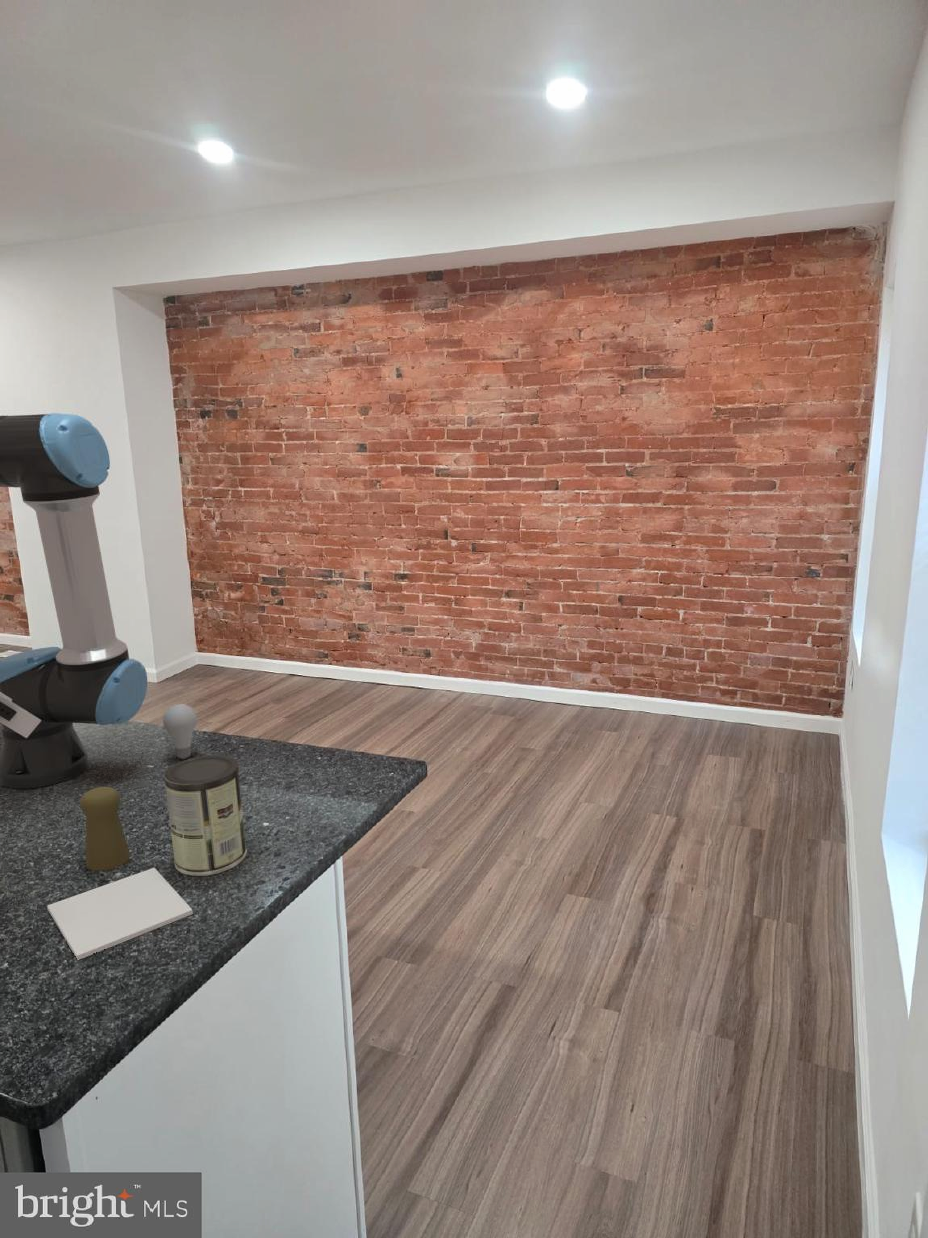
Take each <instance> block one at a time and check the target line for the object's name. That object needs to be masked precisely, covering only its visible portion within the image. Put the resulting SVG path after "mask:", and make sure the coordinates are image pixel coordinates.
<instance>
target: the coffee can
mask: <svg viewBox="0 0 928 1238" xmlns="http://www.w3.org/2000/svg"><path fill="white" fill-rule="evenodd" d="M239 767H240V766H239V762H238V761H237V760H236V759H235V758H233V757H231V756H227V755H226V756H225V755H219V754H218V755H217V754H216V755H215V754H212V755H201V756H194V757H191V758H187V759H183V760H181V761H178V762H176V763H174V764H172V765H170V766H169V767H167V768H166V770H165V771H164V772H163V775H162V777H163V779H162V780H163V781H164V784H165V792H166V793H165V794H166V800H167V801H166V803H167V810H168V811H167V812H168V818H169V825H170V826H169V827H170V835H171V841H172V848H173V851H172V852H173V858H174V859H173V860H174V868H175V869H176V870H177V871H178V872H179V873H181V874H182V875H187V876H192V877H207V876H213V875H218V874H221V873H224V872H227V871H229V870H232V869H233V868H236V866H238V865H239V864H240V863H242V862H243V861H244V860H245V858H246V857H247V852H248V850H247V847H246V846H247V845H246V837H245V828H244V815H243V806H242V796H241V787H240V785H241V784H240V776H239V771H240V769H239Z"/></svg>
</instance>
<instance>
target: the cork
mask: <svg viewBox="0 0 928 1238" xmlns="http://www.w3.org/2000/svg"><path fill="white" fill-rule="evenodd" d="M118 792H119V791H117V790H116V789H115V788H114V787H111V786H100V787H94V788H91V789H90V790H88V791H86V792H84V794H83V795H82V797H81V799H80V802H79V805H80V809H81V811H82V813H83V814H84V815H85V820H86V821H85V823H86V824H85V867H86V868H87V869H88V870H90V871H94V872H95V871H96V872H97V871H100V872H102V871H109V870H114V869H116V868H118V867H120V866H123V865H124V864H126V863H127V862H128V861H129V860H130V858H131V853H130V848H129V847H128V842H127V839H126V836H125V831H124V829H123V826H122V822H121V818H120V815H119V812H118V808H119V807H120V803H121V799H120V798H121V796H120V794H119V793H118Z"/></svg>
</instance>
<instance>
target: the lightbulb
mask: <svg viewBox="0 0 928 1238" xmlns="http://www.w3.org/2000/svg"><path fill="white" fill-rule="evenodd" d="M163 714H164V715H163V718H162V724H163V727H164V728H165V730H166V731H167V733H168V734H169V735H170V737H171V739H172V741H173V745H174V748H175V750H176V756H177V758H179V759H181V760H187V759H188V758H189V757H190V756H191V755H192V754H191V751H192V749H191V746H192V737H193V732H194V730H195V729H196V725H197V723H198V716H197V713H196V711H195V710H194V708H192V707H191V706H190V705H187V704H184V703H177V704H173V705H172V706H170V707H169V708H167V710H166V711H165V712H164V713H163Z"/></svg>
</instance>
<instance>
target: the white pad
mask: <svg viewBox="0 0 928 1238" xmlns="http://www.w3.org/2000/svg"><path fill="white" fill-rule="evenodd" d="M47 911H48V912H49V914H50V916H51V917H52V919H53V921H54V923H55V925H56V926H57V928H58V929H59V931H60V933H61V934H62V936H63V938H64V940H65V942H66V941H67V942H66V944H67V945H68V946H69V948H70V950H71V951H72V953H74V954H73V955H74V957H75V956H76V957H75V959H76V958H77V959H76V960H77V961H80V960H81V959H85V958H87V957H90V956H92V955H94V954H93V953H95V954H97V953H99V952H102V951H105V950H107V949H109V948H112V947H114V946H116V945H120V944H122V943H124V942H126V941H130V940H133V939H135V938H137V937H139V936H141V935H144V934H146V933H149V932H152V931H154V930H156V929H158V928H161V927H164V926H167V925H169V924H172V923H174V922H176V921H177V922H178V921H179V920H182V919H185V918H187V917H189V916H191V915H193V914H194V913H193V908H191V907H190V905H189V904H188V903H187V902H186V901H185V900H184V899H183V897H181V896H180V894H179V893H178V892H177V891H176V890H175V889H174V887H173V886H172V885H171V884H170V883H169V882H168V881H167V880H166V879H165V878H164V876H163V875H162V874H161V873H160V872H159V871H158V870H157V868H155V867H152V868H149V869H147V870H144V871H141V872H138V873H135V874H133V875H128V876H127V877H124V878H121V879H119V880H116V881H115V880H114V881H113V882H110V883H106V884H104V885H102V886H99V887H96V888H92V889H90V890H87V891H85V892H82V893H79V894H76V895H73V896H70V897H68V898H65V899H62V900H59V901H56V902H54V903H50V904H48V905H47ZM104 949H105V950H104ZM96 952H97V953H96Z"/></svg>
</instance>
